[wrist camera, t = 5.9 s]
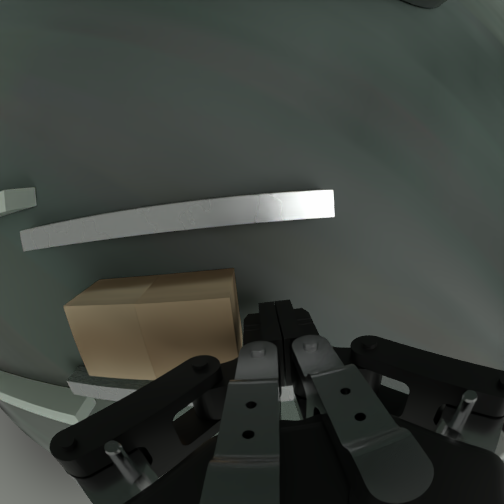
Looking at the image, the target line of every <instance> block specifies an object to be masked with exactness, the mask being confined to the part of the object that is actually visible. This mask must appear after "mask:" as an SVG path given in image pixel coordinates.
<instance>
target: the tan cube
mask: <svg viewBox="0 0 504 504" xmlns="http://www.w3.org/2000/svg"><path fill="white" fill-rule="evenodd" d="M134 305H135V309H136V313H137V317H138V321H139V324H140V328H141V331H142V335H143V338H144V342H145V345H146V348H147V351H148V355H149V358H150V361H151V364H152V367H153V370H154V373H155V376H156V378H159V377H160V376H162V375H164V374H165V373H167V372H169V371H170V370H172V369H173V368H175V367H177V366H178V365H180V364H182V363H183V362H185V361H186V360H188V359H190V358H192V357H195V356H199V355H210V356H214V357H216V358H217V359H218V360H219V361H220V364H221V363H225V362H228V361H231V360H234V359H235V358H237V357H238V356H239V351H240V349H241V348H242V328H241V320H240V313H239V305H238V297H237V289H236V281H235V273H234V268H228V269H218V270H207V271H196V272H186V273H174V274H163V275H160V276H159V277H158V278H157V279H156V280H155V282H154V283H153V284H152V285H151V286H150V287H149V288H148V289H147V290H146V291H145V293H144V294H143V295H142V296H141V297H140V298H139V299H138V300H137V301H136V303H135V304H134Z"/></svg>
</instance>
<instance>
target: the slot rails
mask: <svg viewBox="0 0 504 504" xmlns="http://www.w3.org/2000/svg"><path fill="white" fill-rule="evenodd" d="M324 217H334V197H333V190H326V189H316V190H299V191H283V192H270V193H258V194H246V195H235V196H225V197H216V198H207V199H198V200H190V201H181V202H174V203H166V204H159V205H152V206H145V207H138V208H132V209H126V210H119V211H113V212H107V213H102V214H96V215H91V216H85V217H80V218H75V219H70V220H65V221H60V222H55V223H50V224H46V225H41V226H37V227H33V228H30V229H26V230H22V231H20V236H21V242H22V247H23V251H29V250H36V249H42V248H48V247H55V246H62V245H69V244H76V243H83V242H90V241H97V240H105V239H112V238H120V237H128V236H136V235H144V234H153V233H161V232H170V231H179V230H188V229H198V228H208V227H218V226H228V225H238V224H249V223H261V222H272V221H284V220H297V219H310V218H324ZM284 378H285V376H284ZM152 381H154V380H138V379H122V378H109V377H99V376H90V375H89V374H88V371H87V369H86V367H85V366H78V368H77V369H76V370H75V371H74V372H73V374H72V375H71V376H70V377H69V379H68V380H67V383H68V385H69V387H70V389H71V391H72V393H73V394H75V395H80V396H86V397H92V398H98V399H105V400H112V401H119V400H121V399H122V398H124V397H126V396H128V395H129V394H131V393H133V392H135V391H136V390H138V389H140V388H142V387H143V386H145V385H147V384H148V383H150V382H152ZM281 388H282V394H281V397H280V398H281V401H290V400H294V394H293V385H291V386H286V381H285V386H284V387H281ZM188 406H194V405H193V402H192V403H190V404H189V405H188Z"/></svg>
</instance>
